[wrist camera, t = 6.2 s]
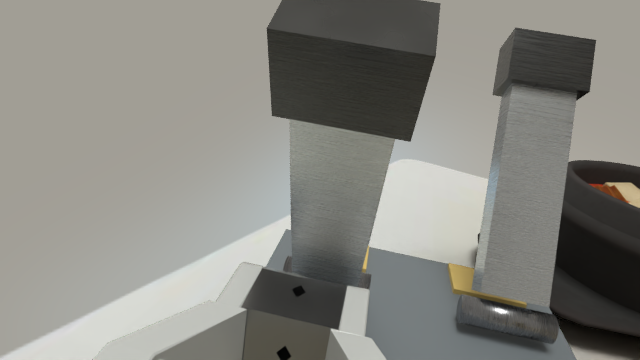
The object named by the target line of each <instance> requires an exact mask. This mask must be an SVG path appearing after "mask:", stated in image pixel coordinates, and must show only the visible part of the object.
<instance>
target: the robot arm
mask: <svg viewBox="0 0 640 360" xmlns="http://www.w3.org/2000/svg"><path fill="white" fill-rule="evenodd" d="M346 287H347V289H346ZM369 295H370V291H369V289H364V288H359V287H353V286H346V285H341V284H336V283H331V282H326V281H322V280H317V279H312V278H307V277H305V276H301V275H297V274H293V273H289V272H285V271H280V270H276V269H272V268H268V267H263V266H260V265H255V264H251V263H246V262H243V263H241V264H240V265H239V267H238V268H237V270H236V271H235V273H234V274H233V276H232V277H231V279H230V280H229V282H228V283H227V285H226V286H225V288H224V290H223V291H222V293H221V294H220V296H219V297H218V299H217V300H216V302H215V301H210V300H209V301H207V302H204V303H202V304H199V305H197V306H195V307H192V308H190V309H188V310H185V311H183V312H180V313H178V314H176V315H173V316H171V317H168V318H166V319H164V320H161V321H159V322H157V323H154V324H152V325H149V326H147V327H145V328H142V329H140V330H137V331H135V332H133V333H130V334H128V335H125V336H123V337H121V338H118V339H116V340H114V341H111V342H109V343H107V344H106V345H105V346H104V347H103V348H102V349H101V351H100V352H99V353H98V354H97V355H96V356H95V357H94V358H93V359H92V360H387V359H386V358H385V357H384V355H383V354H382V352H381V351H380V349H379V348H378V347H377V345H376V344H375V342H374V341H373V340H372V338H368V337H365V333H366V324H367V314H368V304H369ZM343 303H344V304H343Z"/></svg>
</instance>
